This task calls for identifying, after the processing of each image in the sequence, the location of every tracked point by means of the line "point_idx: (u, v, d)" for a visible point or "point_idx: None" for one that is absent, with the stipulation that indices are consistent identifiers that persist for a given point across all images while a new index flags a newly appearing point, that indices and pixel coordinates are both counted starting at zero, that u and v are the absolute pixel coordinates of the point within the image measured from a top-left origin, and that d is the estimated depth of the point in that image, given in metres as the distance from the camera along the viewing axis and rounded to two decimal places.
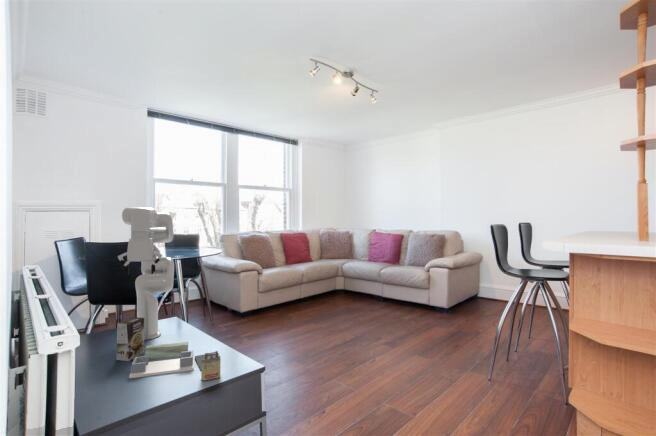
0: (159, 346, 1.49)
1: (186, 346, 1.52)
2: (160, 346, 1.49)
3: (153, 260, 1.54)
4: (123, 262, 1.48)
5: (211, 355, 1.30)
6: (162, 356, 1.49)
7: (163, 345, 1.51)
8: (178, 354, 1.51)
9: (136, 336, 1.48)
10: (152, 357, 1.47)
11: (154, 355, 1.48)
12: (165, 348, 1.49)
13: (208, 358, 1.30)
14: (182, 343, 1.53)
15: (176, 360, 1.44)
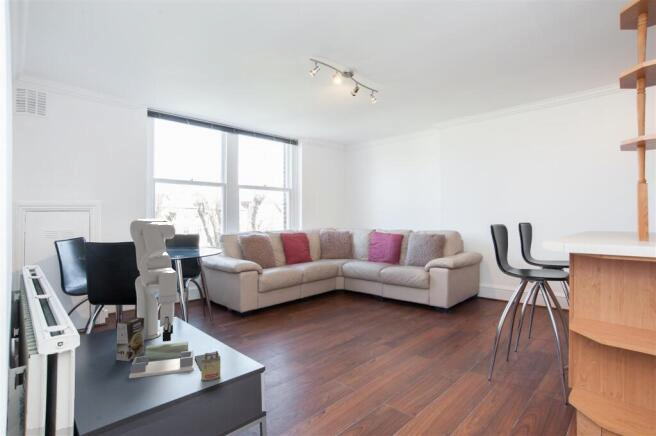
0: (159, 346, 1.49)
1: (186, 346, 1.52)
2: (160, 346, 1.49)
3: None
4: (168, 328, 1.45)
5: (211, 355, 1.30)
6: (162, 356, 1.49)
7: (163, 345, 1.51)
8: (178, 354, 1.51)
9: (136, 336, 1.48)
10: (152, 357, 1.47)
11: (154, 355, 1.48)
12: (165, 348, 1.49)
13: (208, 358, 1.30)
14: (182, 343, 1.53)
15: (176, 360, 1.44)
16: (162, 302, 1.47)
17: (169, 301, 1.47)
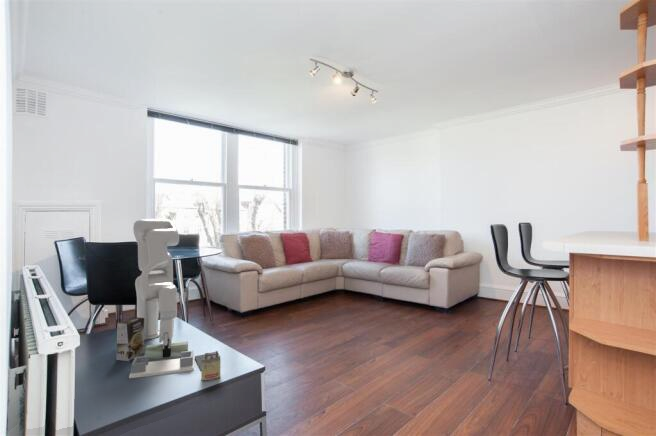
0: (159, 346, 1.49)
1: (186, 346, 1.52)
2: (160, 346, 1.49)
3: None
4: (168, 345, 1.48)
5: (211, 355, 1.30)
6: (162, 356, 1.49)
7: None
8: (178, 354, 1.51)
9: (136, 336, 1.48)
10: (152, 357, 1.47)
11: (154, 355, 1.48)
12: None
13: (208, 358, 1.30)
14: (182, 343, 1.53)
15: (176, 360, 1.44)
16: (162, 318, 1.47)
17: (169, 317, 1.48)
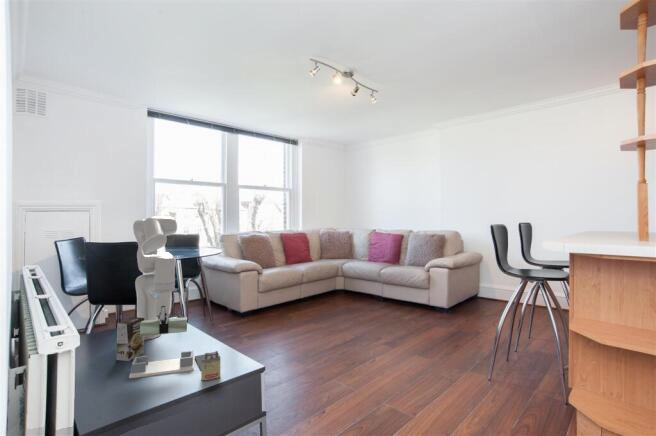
0: (155, 321, 1.37)
1: (185, 321, 1.40)
2: (156, 321, 1.37)
3: None
4: None
5: (211, 355, 1.30)
6: None
7: None
8: (176, 330, 1.39)
9: (136, 336, 1.48)
10: (148, 333, 1.35)
11: (149, 331, 1.35)
12: None
13: (208, 358, 1.30)
14: (180, 318, 1.41)
15: (176, 360, 1.44)
16: (158, 290, 1.35)
17: (166, 289, 1.36)
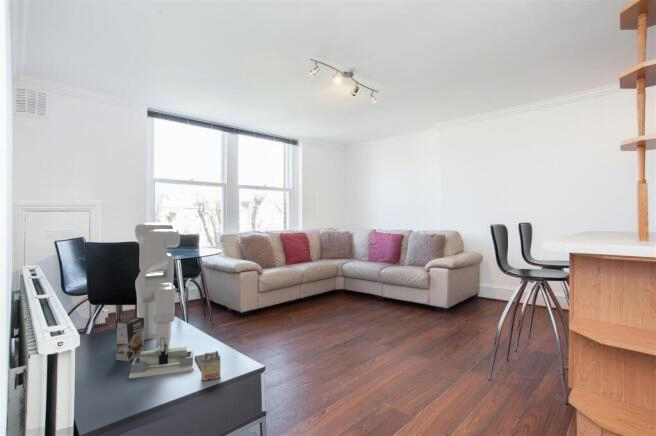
0: (155, 352, 1.38)
1: (184, 351, 1.40)
2: (156, 352, 1.38)
3: None
4: (165, 351, 1.36)
5: (211, 355, 1.30)
6: (158, 363, 1.37)
7: None
8: (176, 360, 1.39)
9: (136, 336, 1.48)
10: (147, 364, 1.35)
11: (149, 362, 1.36)
12: None
13: (208, 358, 1.30)
14: (180, 348, 1.41)
15: None
16: (158, 322, 1.35)
17: (166, 321, 1.36)
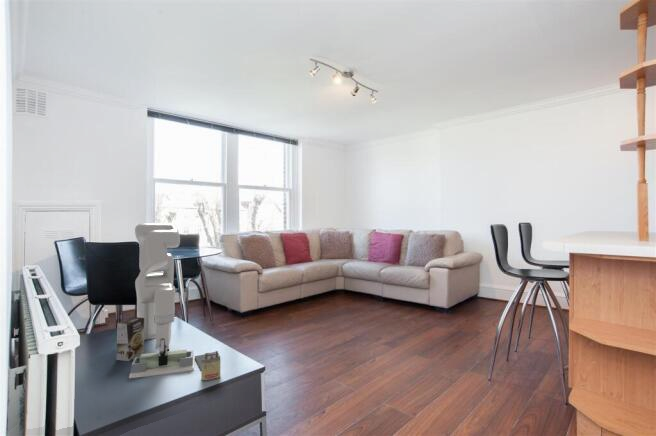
0: (155, 354, 1.38)
1: (184, 354, 1.40)
2: (156, 354, 1.38)
3: None
4: (164, 352, 1.35)
5: (211, 355, 1.30)
6: (158, 365, 1.37)
7: None
8: (176, 363, 1.39)
9: (136, 336, 1.48)
10: (147, 367, 1.36)
11: (149, 364, 1.36)
12: None
13: (208, 358, 1.30)
14: (180, 351, 1.41)
15: None
16: (158, 322, 1.35)
17: (166, 321, 1.36)
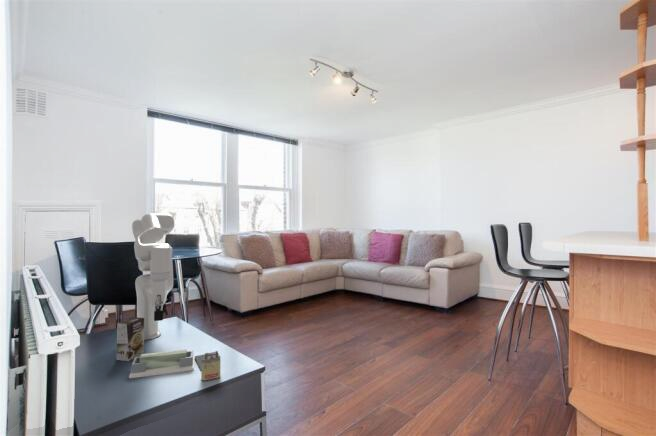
0: (155, 354, 1.38)
1: (184, 354, 1.40)
2: (156, 354, 1.38)
3: None
4: (160, 307, 1.36)
5: (211, 355, 1.30)
6: (158, 365, 1.37)
7: (159, 353, 1.39)
8: (176, 363, 1.39)
9: (136, 336, 1.48)
10: (147, 367, 1.36)
11: (149, 364, 1.36)
12: (161, 357, 1.37)
13: (208, 358, 1.30)
14: (180, 351, 1.41)
15: None
16: (154, 279, 1.37)
17: (162, 278, 1.38)
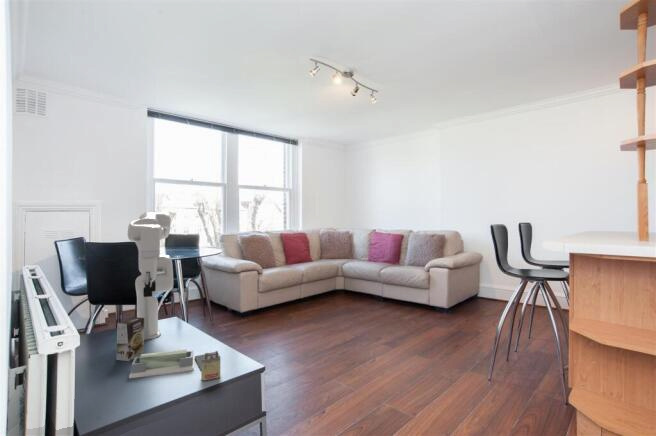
0: (155, 354, 1.38)
1: (184, 354, 1.40)
2: (156, 354, 1.38)
3: None
4: (149, 284, 1.41)
5: (211, 355, 1.30)
6: (158, 365, 1.37)
7: (159, 353, 1.39)
8: (176, 363, 1.39)
9: (136, 336, 1.48)
10: (147, 367, 1.36)
11: (149, 364, 1.36)
12: (161, 357, 1.37)
13: (208, 358, 1.30)
14: (180, 351, 1.41)
15: None
16: (144, 257, 1.43)
17: (151, 256, 1.44)
